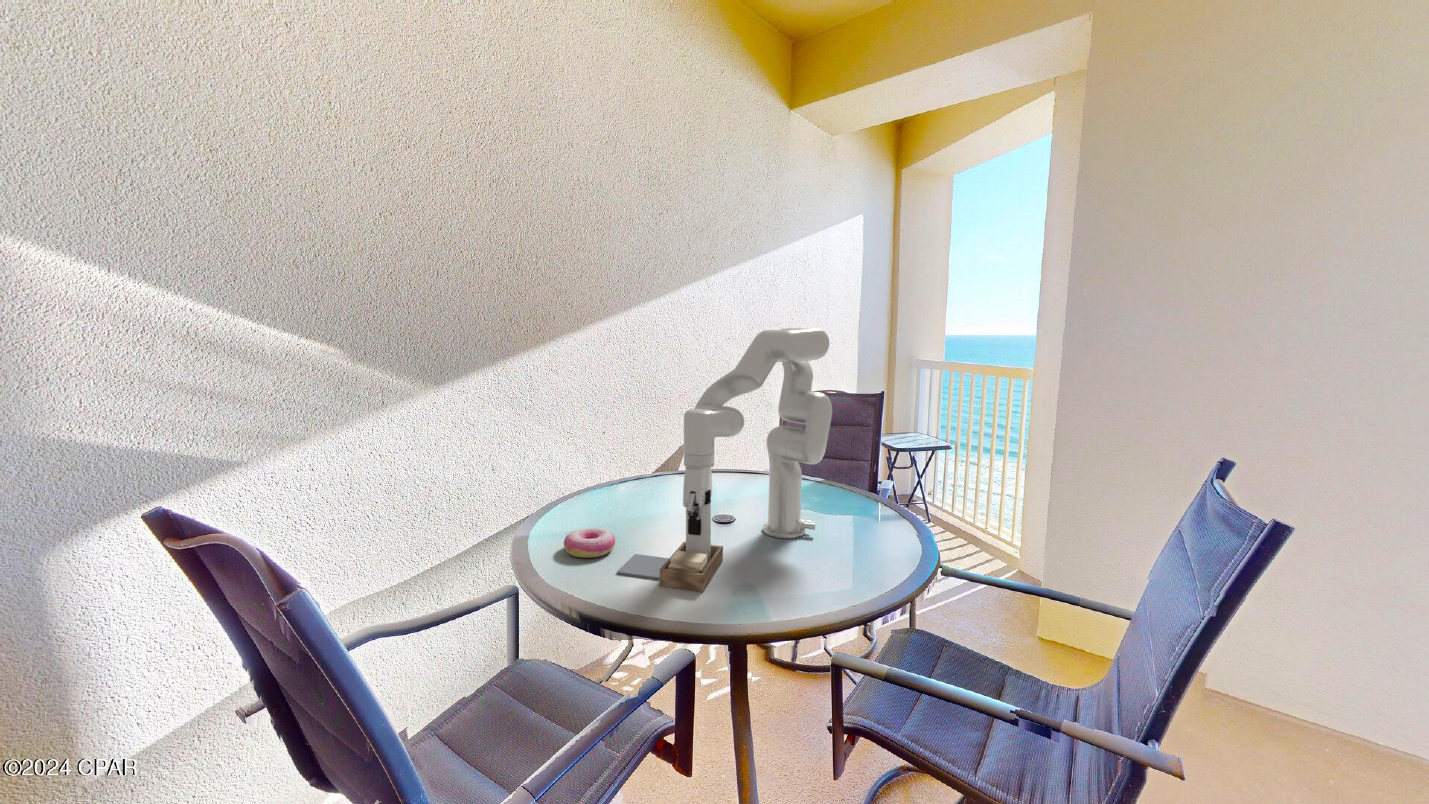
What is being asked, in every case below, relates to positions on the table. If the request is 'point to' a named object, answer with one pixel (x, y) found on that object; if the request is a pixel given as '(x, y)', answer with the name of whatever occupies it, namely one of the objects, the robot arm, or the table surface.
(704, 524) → the travel mug
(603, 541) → the donut
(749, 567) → the table surface
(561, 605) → the table surface
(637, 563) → the slate mat
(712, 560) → the wooden tray
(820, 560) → the table surface
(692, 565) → the maple offcut stack
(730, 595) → the table surface
